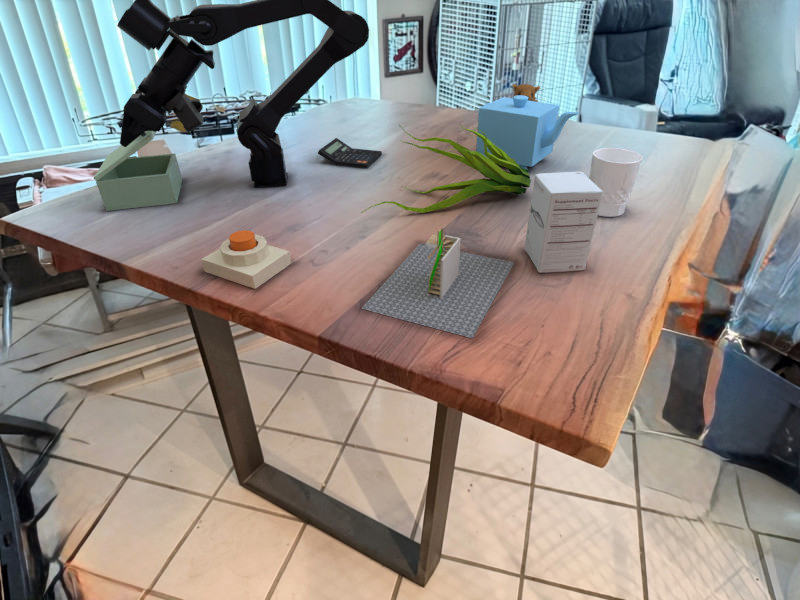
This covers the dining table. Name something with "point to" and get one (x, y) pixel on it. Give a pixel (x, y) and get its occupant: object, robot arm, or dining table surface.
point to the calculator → (348, 155)
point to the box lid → (123, 153)
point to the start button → (242, 240)
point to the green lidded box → (141, 183)
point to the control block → (247, 263)
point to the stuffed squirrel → (526, 91)
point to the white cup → (614, 178)
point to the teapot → (521, 128)
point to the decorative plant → (482, 164)
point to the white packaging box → (562, 221)
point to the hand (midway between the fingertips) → (126, 138)
